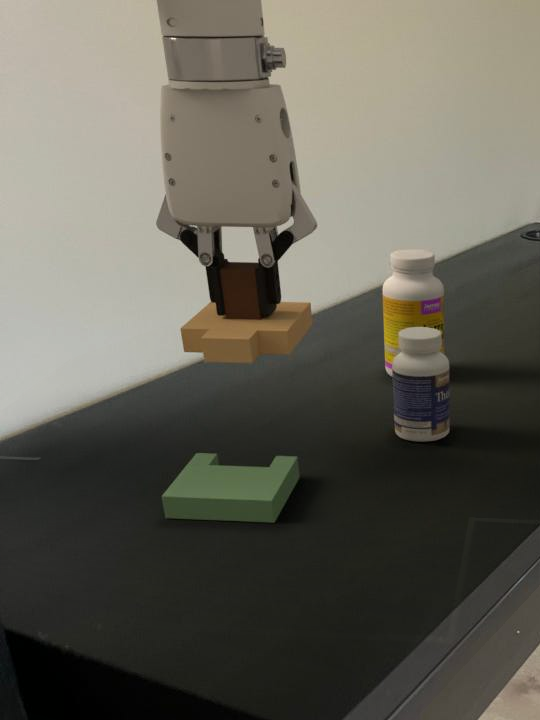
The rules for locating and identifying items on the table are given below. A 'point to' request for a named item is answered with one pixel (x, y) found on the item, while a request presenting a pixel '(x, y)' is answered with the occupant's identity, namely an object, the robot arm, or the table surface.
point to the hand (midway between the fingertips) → (247, 309)
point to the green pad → (231, 490)
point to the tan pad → (244, 322)
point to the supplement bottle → (411, 299)
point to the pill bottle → (421, 386)
